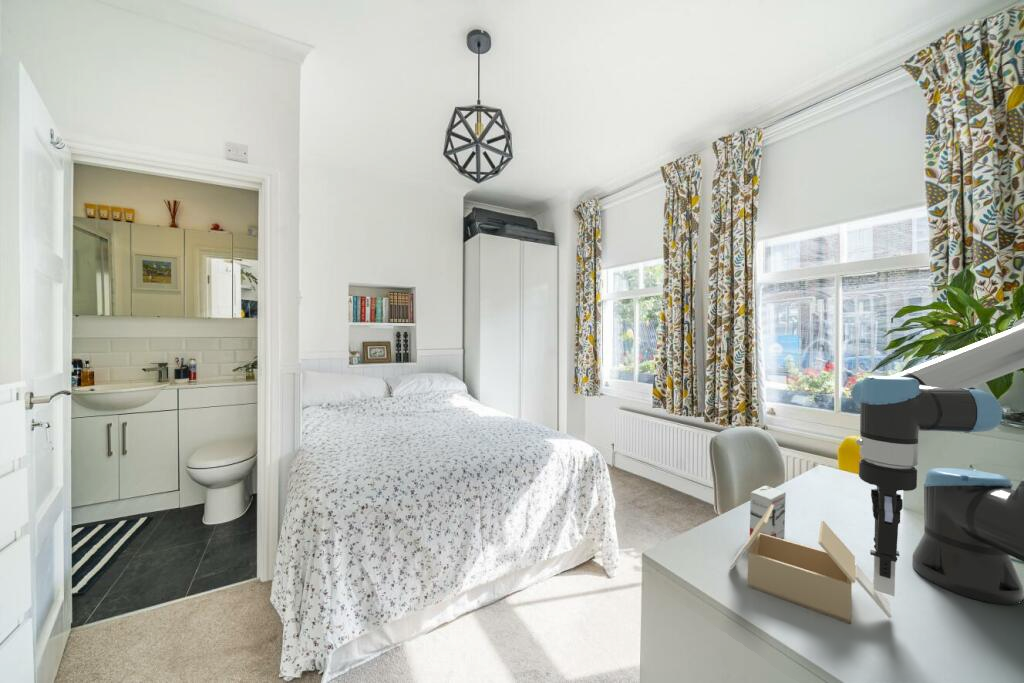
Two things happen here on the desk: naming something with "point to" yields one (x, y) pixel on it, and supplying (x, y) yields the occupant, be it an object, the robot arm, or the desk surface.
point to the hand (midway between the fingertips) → (883, 590)
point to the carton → (799, 576)
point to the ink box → (760, 505)
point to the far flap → (753, 535)
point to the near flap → (850, 565)
